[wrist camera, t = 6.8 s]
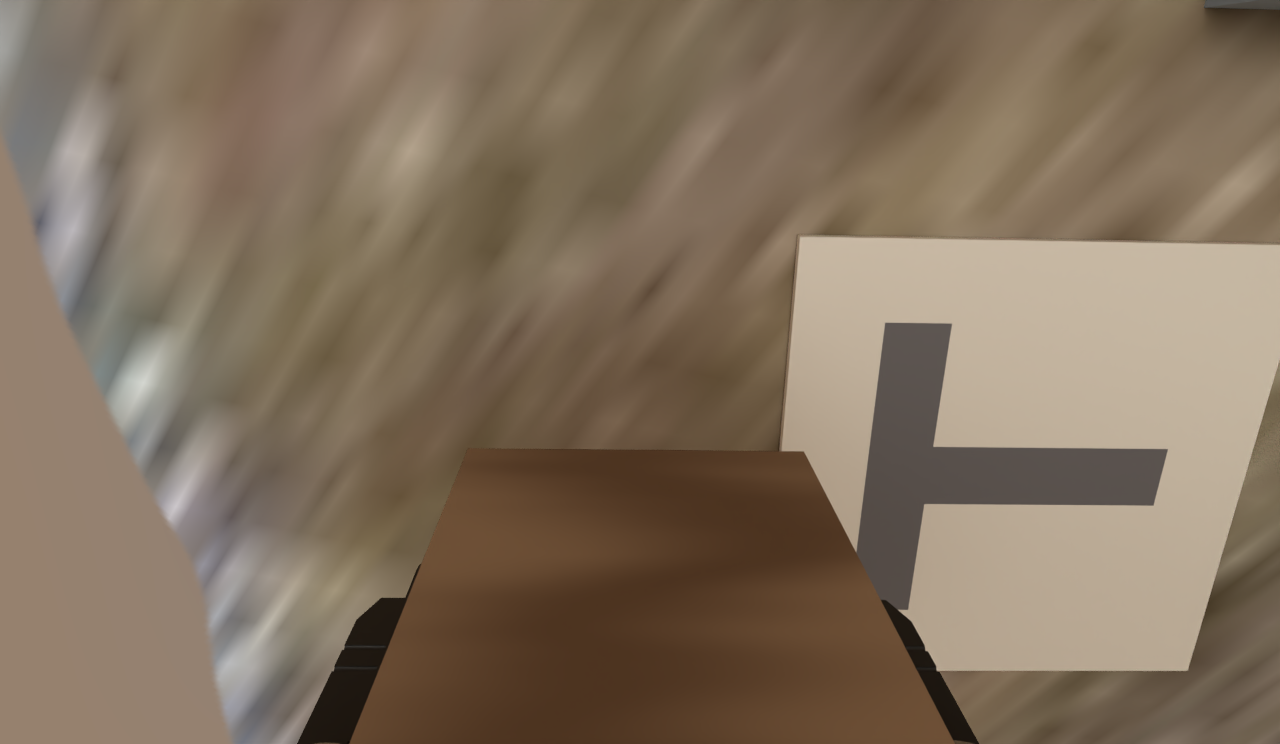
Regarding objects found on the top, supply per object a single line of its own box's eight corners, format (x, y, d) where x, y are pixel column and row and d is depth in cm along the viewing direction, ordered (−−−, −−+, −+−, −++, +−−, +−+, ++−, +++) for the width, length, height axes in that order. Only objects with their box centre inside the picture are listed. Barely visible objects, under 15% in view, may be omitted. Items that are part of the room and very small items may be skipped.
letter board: (1304, 243, 29) (1313, 245, 28) (1181, 664, 35) (1187, 671, 34) (797, 234, 28) (800, 236, 28) (760, 664, 34) (762, 670, 34)
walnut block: (804, 451, 12) (967, 767, 7) (777, 718, 14) (889, 1154, 8) (467, 448, 12) (339, 769, 6) (481, 719, 14) (388, 1166, 8)
